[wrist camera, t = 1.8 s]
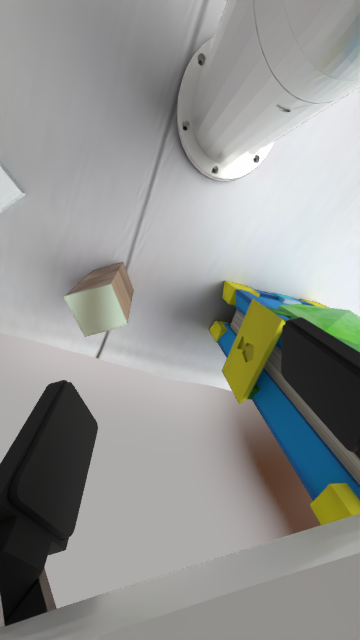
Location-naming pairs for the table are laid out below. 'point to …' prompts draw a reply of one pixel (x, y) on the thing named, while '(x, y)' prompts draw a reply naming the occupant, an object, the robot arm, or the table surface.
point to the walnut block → (101, 300)
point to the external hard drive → (8, 189)
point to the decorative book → (290, 391)
